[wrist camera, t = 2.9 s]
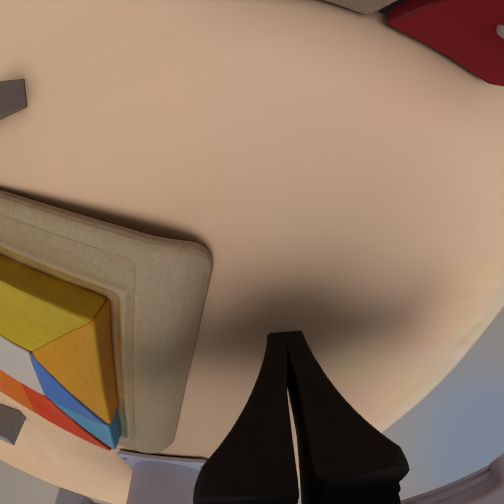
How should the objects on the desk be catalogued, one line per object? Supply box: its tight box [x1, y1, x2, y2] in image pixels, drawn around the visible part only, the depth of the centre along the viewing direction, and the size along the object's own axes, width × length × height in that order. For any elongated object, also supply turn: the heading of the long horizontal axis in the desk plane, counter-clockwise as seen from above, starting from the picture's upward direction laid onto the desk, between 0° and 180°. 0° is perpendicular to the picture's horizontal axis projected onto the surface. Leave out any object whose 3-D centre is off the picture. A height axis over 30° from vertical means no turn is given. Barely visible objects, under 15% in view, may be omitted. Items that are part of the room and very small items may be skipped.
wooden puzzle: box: [0, 190, 212, 453], centre depth 13 cm, size 18×19×4 cm
